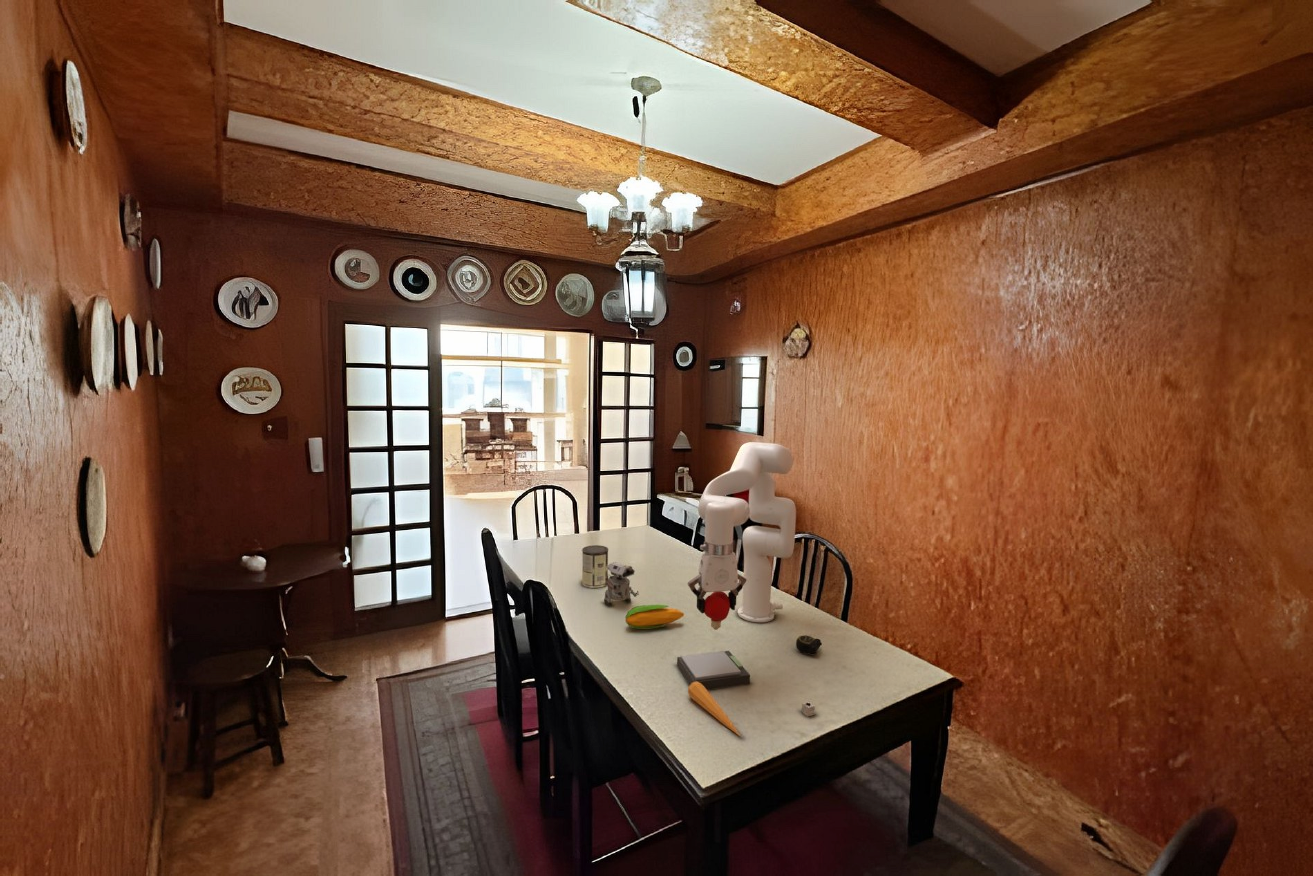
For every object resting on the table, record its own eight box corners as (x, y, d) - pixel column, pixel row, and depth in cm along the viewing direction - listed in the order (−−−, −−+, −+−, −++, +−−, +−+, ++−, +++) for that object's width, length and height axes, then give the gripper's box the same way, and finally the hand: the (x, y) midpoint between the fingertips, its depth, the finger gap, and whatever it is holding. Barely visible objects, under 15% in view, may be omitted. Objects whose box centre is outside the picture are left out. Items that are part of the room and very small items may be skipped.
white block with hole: (801, 712, 138) (802, 702, 138) (808, 710, 139) (808, 700, 139) (807, 716, 136) (808, 707, 136) (814, 714, 137) (815, 704, 137)
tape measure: (814, 659, 165) (815, 647, 164) (792, 652, 168) (793, 640, 168) (821, 650, 170) (822, 638, 170) (799, 643, 174) (800, 632, 174)
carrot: (687, 698, 144) (683, 685, 142) (701, 688, 145) (697, 675, 144) (735, 750, 127) (731, 736, 125) (750, 738, 129) (746, 724, 127)
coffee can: (592, 577, 228) (593, 543, 227) (613, 582, 223) (613, 548, 222) (576, 584, 220) (576, 549, 218) (596, 590, 214) (597, 554, 213)
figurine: (615, 613, 194) (616, 571, 192) (602, 601, 204) (602, 561, 202) (638, 608, 198) (639, 567, 197) (624, 597, 208) (625, 558, 207)
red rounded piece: (719, 638, 147) (721, 602, 146) (696, 632, 151) (697, 596, 150) (734, 626, 155) (735, 591, 154) (711, 620, 159) (712, 586, 158)
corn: (623, 602, 184) (680, 597, 189) (622, 623, 185) (679, 618, 190) (628, 613, 176) (687, 607, 182) (627, 635, 178) (686, 628, 183)
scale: (728, 658, 164) (728, 648, 163) (749, 683, 150) (750, 672, 150) (677, 665, 159) (677, 654, 159) (694, 691, 146) (694, 679, 145)
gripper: (693, 554, 144) (691, 618, 146) (754, 550, 150) (751, 612, 151) (683, 546, 152) (681, 607, 153) (741, 542, 157) (739, 601, 158)
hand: (716, 609), depth 152 cm, fingers closed on red rounded piece, 8 cm apart
